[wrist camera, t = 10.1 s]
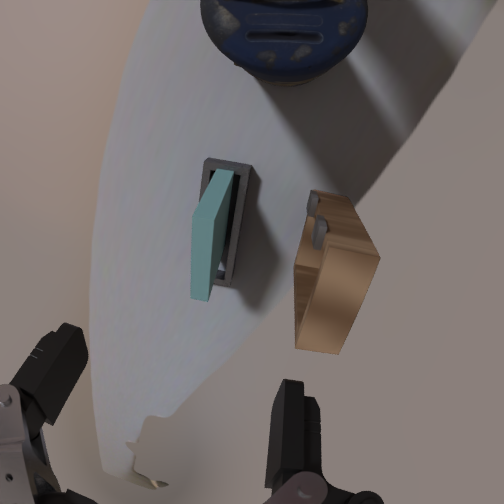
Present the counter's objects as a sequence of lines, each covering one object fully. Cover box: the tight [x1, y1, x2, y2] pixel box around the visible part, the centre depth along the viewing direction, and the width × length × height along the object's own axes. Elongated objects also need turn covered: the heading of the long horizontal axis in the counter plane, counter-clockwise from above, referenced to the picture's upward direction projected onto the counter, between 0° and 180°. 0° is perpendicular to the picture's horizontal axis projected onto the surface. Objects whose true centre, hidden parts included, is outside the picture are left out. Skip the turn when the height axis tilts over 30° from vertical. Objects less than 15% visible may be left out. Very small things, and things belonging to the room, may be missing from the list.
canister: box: [200, 0, 368, 86], centre depth 19 cm, size 10×10×18 cm
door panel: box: [191, 169, 234, 302], centre depth 32 cm, size 10×2×9 cm, turn 171°
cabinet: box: [294, 189, 380, 355], centre depth 30 cm, size 10×5×14 cm, turn 170°
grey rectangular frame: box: [199, 158, 252, 287], centre depth 36 cm, size 15×5×2 cm, turn 170°
